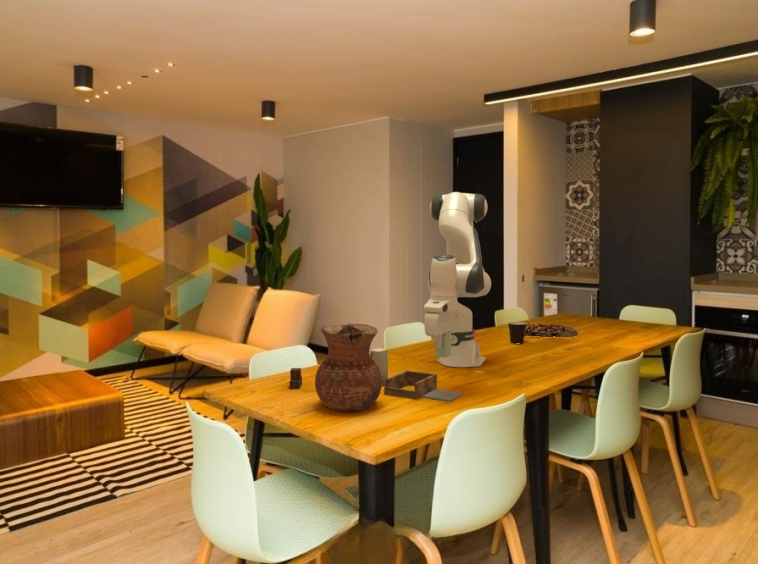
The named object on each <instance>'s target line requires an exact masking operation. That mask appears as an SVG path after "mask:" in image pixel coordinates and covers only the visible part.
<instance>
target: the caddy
mask: <svg viewBox="0 0 758 564" xmlns="http://www.w3.org/2000/svg"><path fill="white" fill-rule="evenodd" d="M406 386H412V387H414V390H410V389H404V387H406ZM435 389H438V374H437V373H436V374H435V373H430V372H429V373H428V372H422V371H415V370H414V371H413V370H405V371H402V372H400V373H397V374H394V375H392V376H390V377H388V378H387V379H386V385H384V389H383V394H384V395H386V396H392V397H398V398H405V399H411V400H418V399H420V398H422V397H423V395H425V394H427V393H429V392H431V391H433V390H435Z"/></svg>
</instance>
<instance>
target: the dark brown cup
mask: <svg viewBox="0 0 758 564" xmlns="http://www.w3.org/2000/svg"><path fill="white" fill-rule="evenodd" d="M507 324H508V332H509V342H511V343H524V341H525V337H524V336H525V329H526V325H527V323H526V322H522V321H510V322H508V323H507ZM511 343H510V344H511Z"/></svg>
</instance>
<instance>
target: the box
mask: <svg viewBox="0 0 758 564" xmlns="http://www.w3.org/2000/svg"><path fill="white" fill-rule="evenodd" d="M388 353H389V351H388V349H386V348H380V347H378V348H373V349H370V350H369V355H370V357H371V358H372V359H373V360H374V361H375V363H376V364H377V366H378V367H379V370H380V372H381V376H382V387H383V386H386V379H387V378H389V374H388V373H389V371H388V370H389V367H388V366H389V364H388V363H389V362H388V361H389V357H388V356H389V355H388Z"/></svg>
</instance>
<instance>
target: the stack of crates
mask: <svg viewBox="0 0 758 564" xmlns="http://www.w3.org/2000/svg"><path fill="white" fill-rule="evenodd" d="M289 371H290V373H289V374H290V375H289V376H290V377H289V379H290V380H289V390H300V388H301V387H302V385H303V376H302V368H301V367H292V368H290V370H289Z"/></svg>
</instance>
